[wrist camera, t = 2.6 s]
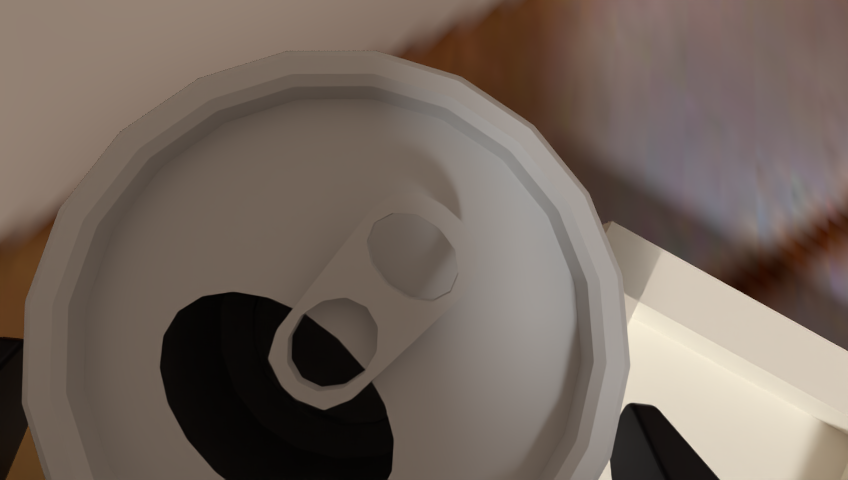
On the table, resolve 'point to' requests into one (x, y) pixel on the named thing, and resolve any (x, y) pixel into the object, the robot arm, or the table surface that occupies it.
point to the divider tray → (730, 371)
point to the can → (326, 289)
